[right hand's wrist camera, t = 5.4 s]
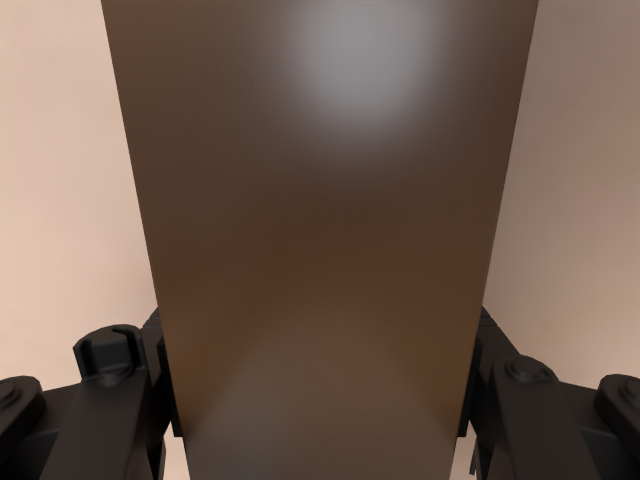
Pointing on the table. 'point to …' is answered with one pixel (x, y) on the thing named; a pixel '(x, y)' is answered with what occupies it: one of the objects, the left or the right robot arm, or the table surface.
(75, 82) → the table surface
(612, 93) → the table surface
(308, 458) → the beam
